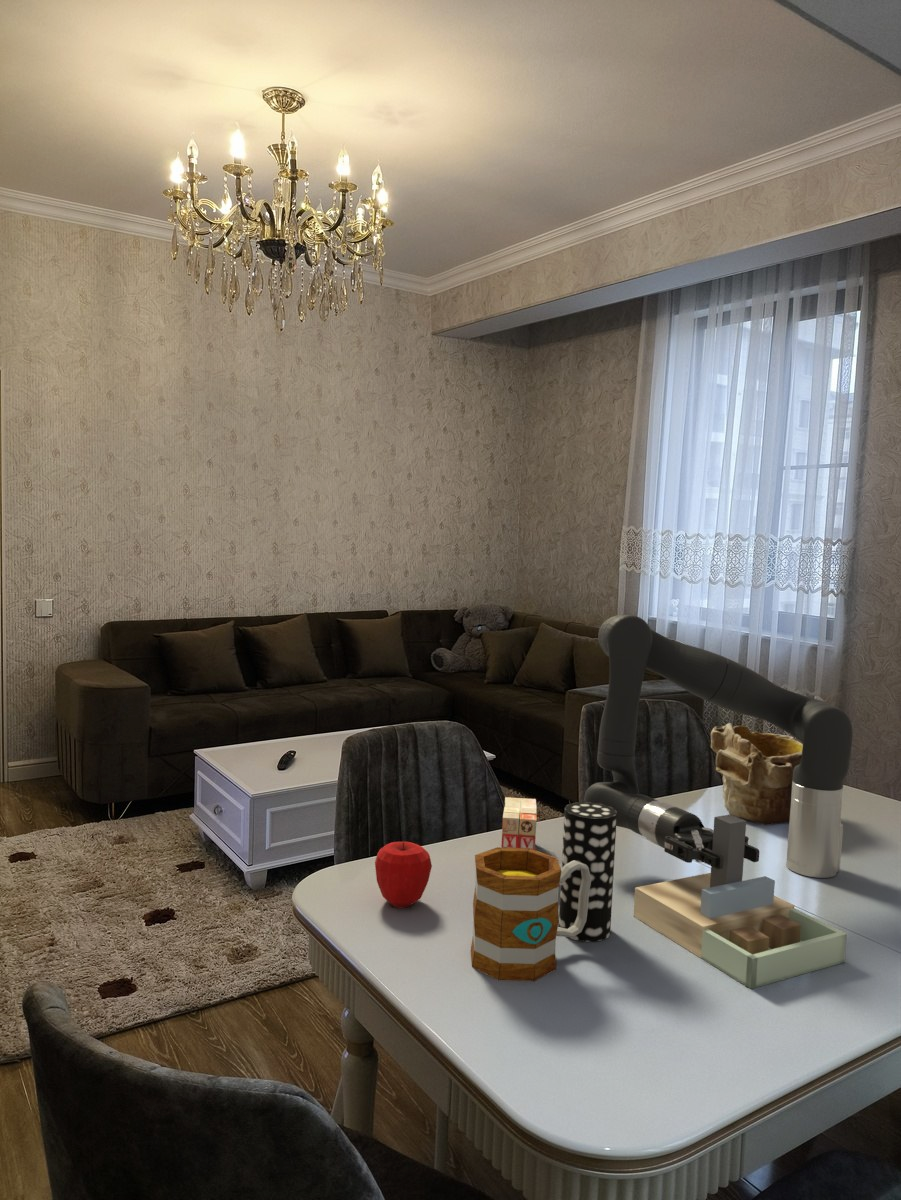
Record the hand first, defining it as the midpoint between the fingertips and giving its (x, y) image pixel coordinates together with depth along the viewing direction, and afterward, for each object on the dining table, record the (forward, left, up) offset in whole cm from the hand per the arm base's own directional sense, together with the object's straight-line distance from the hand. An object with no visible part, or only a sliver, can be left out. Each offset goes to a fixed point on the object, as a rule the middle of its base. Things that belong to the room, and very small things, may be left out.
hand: (739, 859), depth 143 cm
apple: (+44, -33, -13) cm, 57 cm away
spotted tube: (+21, -12, -13) cm, 28 cm away
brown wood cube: (-4, +4, -11) cm, 12 cm away
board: (0, -5, -13) cm, 14 cm away
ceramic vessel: (-53, -43, -13) cm, 70 cm away
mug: (+34, -8, -13) cm, 37 cm away
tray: (0, +8, -13) cm, 15 cm away
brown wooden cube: (+4, +5, -11) cm, 12 cm away
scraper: (0, -2, -8) cm, 8 cm away
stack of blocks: (+15, -42, -14) cm, 47 cm away
